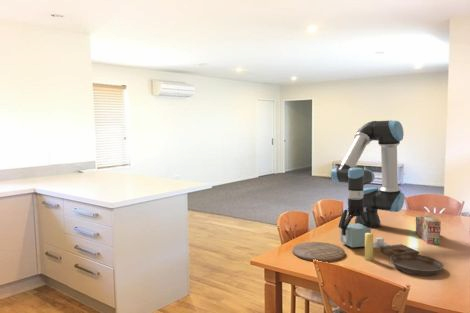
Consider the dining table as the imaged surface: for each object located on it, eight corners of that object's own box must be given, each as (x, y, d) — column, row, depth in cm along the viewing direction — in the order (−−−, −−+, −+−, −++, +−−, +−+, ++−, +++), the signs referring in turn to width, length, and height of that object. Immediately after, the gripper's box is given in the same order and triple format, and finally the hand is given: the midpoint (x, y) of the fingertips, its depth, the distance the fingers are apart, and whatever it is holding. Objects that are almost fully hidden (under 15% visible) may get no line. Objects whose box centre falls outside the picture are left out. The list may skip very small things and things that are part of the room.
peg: (363, 258, 173) (363, 233, 172) (369, 257, 174) (370, 232, 173) (367, 261, 170) (368, 235, 169) (374, 260, 170) (374, 234, 170)
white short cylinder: (369, 243, 194) (369, 235, 194) (382, 242, 196) (382, 234, 196) (378, 248, 187) (378, 240, 186) (392, 246, 189) (392, 238, 188)
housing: (340, 241, 195) (340, 224, 194) (358, 239, 198) (358, 223, 197) (351, 247, 185) (351, 230, 184) (370, 245, 187) (370, 228, 187)
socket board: (380, 251, 182) (380, 246, 182) (401, 248, 185) (401, 244, 185) (396, 259, 171) (396, 254, 171) (418, 256, 174) (418, 251, 174)
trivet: (283, 249, 188) (283, 246, 188) (323, 243, 198) (323, 239, 198) (311, 266, 165) (311, 262, 165) (356, 257, 175) (356, 253, 175)
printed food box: (415, 232, 214) (415, 211, 213) (427, 232, 213) (427, 211, 212) (427, 243, 193) (427, 220, 193) (440, 244, 192) (440, 220, 191)
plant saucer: (426, 259, 171) (426, 252, 171) (454, 277, 151) (454, 269, 150) (382, 260, 170) (382, 253, 170) (404, 278, 150) (404, 270, 150)
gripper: (339, 200, 183) (338, 244, 185) (379, 198, 189) (379, 240, 190) (331, 198, 190) (331, 240, 192) (371, 195, 196) (370, 236, 198)
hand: (355, 240), depth 191 cm, fingers closed on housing, 11 cm apart
